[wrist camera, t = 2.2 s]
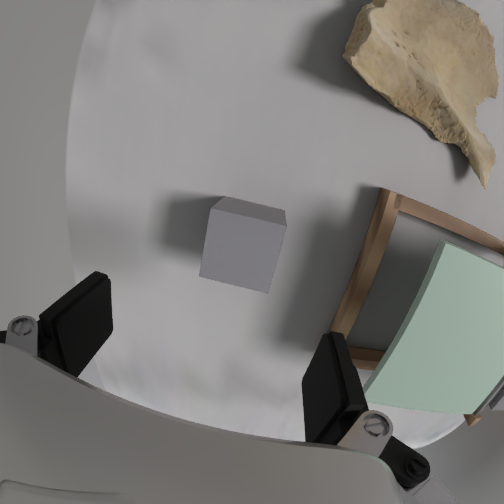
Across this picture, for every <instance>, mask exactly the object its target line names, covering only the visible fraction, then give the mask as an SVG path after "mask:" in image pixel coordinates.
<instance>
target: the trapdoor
mask: <svg viewBox="0 0 504 504" xmlns="http://www.w3.org/2000/svg"><path fill="white" fill-rule="evenodd" d="M503 376H504V267H502V266H500V265H498V264H496V263H494V262H491V261H489V260H487V259H485V258H483V257H481V256H479V255H477V254H474V253H472V252H470V251H468V250H466V249H463V248H461V247H459V246H456V245H454V244H452V243H450V242H447V241H445V240H442V239H440V241H439V243H438V246H437V249H436V251H435V254H434V256H433V259H432V261H431V264H430V266H429V269H428V271H427V273H426V276H425V278H424V280H423V282H422V285H421V287H420V289H419V291H418V293H417V295H416V297H415V299H414V301H413V304H412V306H411V308H410V310H409V311H408V313H407V315H406V317H405V319H404V321H403V323H402V325H401V327H400V328H399V330H398V332H397V334H396V336H395V337H394V339H393V341H392V343H391V344H390V346H389V348H388V349H387V351H386V353H385V354H384V356H383V358H382V359H381V361H380V362H379V364H378V366H377V367H376V369H375V370H374V372H373V373H372V375H371V376H370V378H369V379H368V381H367V382H366V384H365V385H364V387H363V392H364V395H365V398H366V402H369V403H374V404H380V405H386V406H392V407H398V408H405V409H413V410H421V411H430V412H441V413H454V414H472V413H473V412H474V411H475V410H476V409H477V408H478V407H479V405H480V404H481V403H482V402H483V401H484V400H485V398H486V397H487V396H488V395H489V394H490V392H491V391H492V390H493V389H494V387H495V386H496V385H497V384H498V382H499V381H500V380H501V378H502V377H503ZM489 406H490V408H491V410H504V386H503V388H502V389H501V390H500V391H499V393H498V394H497V395H496V396H495V398H494V399H493V400H492V401H491V402H490V404H489Z"/></svg>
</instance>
